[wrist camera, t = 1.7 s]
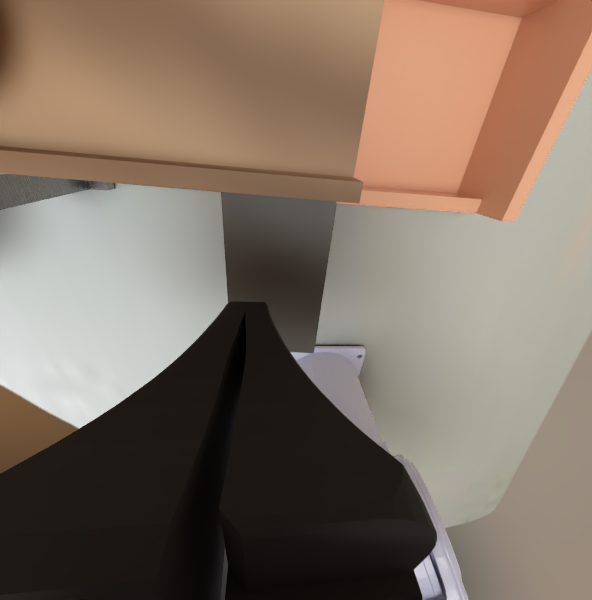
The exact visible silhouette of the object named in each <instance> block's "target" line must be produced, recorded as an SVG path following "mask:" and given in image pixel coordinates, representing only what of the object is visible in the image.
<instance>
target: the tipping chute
mask: <svg viewBox="0 0 592 600" xmlns="http://www.w3.org/2000/svg"><path fill="white" fill-rule="evenodd" d="M383 6H384V0H0V173H4V174H16V175H28V176H39V177H51V178H63V179H75V180H87V181H99V182H110V183H122V184H134V185H146V186H158V187H169V188H181V189H193V190H205V191H217V192H221V196H222V212H223V228H224V244H225V260H226V276H227V292H228V303H229V302H230V301H237V302H265V303H266V304H267V305H268V309H269V312H270V315H271V318H272V320H273V322H274V325H275V327H276V329H277V330H278V332H279V334H280V336H281V338H282V340H283V341H284V343H285V345H286V346H287V348H288V349H289V351H290V352H298V353H314V349H315V342H316V335H317V329H318V322H319V316H320V309H321V302H322V296H323V289H324V283H325V276H326V269H327V263H328V256H329V250H330V243H331V236H332V230H333V223H334V217H335V210H336V203H337V202H347V203H358V204H359V202H360V197H361V192H362V187H363V182H362V181H360V180H358V179H356V178H354V172H355V166H356V160H357V155H358V149H359V143H360V138H361V132H362V126H363V120H364V115H365V109H366V103H367V98H368V92H369V86H370V80H371V75H372V69H373V63H374V57H375V52H376V46H377V40H378V35H379V29H380V23H381V17H382V12H383Z"/></svg>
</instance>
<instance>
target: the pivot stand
mask: <svg viewBox="0 0 592 600" xmlns="http://www.w3.org/2000/svg"><path fill="white" fill-rule="evenodd" d="M88 189H97V190H111V189H115V186H114V183H110V182H99V181H87V180H75V179H63V178H51V177H39V176H28V175H16V174H4V173H0V210H1V209H5V208H10V207H14V206H18V205H23V204H27V203H31V202H36V201H40V200H44V199H49V198H53V197H57V196H62V195H66V194H71V193H75V192H79V191H84V190H88Z"/></svg>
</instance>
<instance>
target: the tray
mask: <svg viewBox="0 0 592 600" xmlns="http://www.w3.org/2000/svg"><path fill="white" fill-rule="evenodd" d="M591 69H592V0H384V6H383V12H382V17H381V23H380V29H379V35H378V40H377V46H376V52H375V57H374V63H373V69H372V75H371V80H370V86H369V92H368V98H367V103H366V109H365V115H364V120H363V126H362V132H361V138H360V143H359V149H358V155H357V160H356V166H355V172H354V178H356V179H358V180H360V181H362V182H363V187H362V192H361V197H360V202H359V204H358V203H347V202H337V203H336V204H351V205H365V206H380V207H394V208H409V209H423V210H437V211H452V212H466V213H477V214H481V215H484V216H487V217H490V218H493V219H496V220H499V221H506V222H515V221H516V219H517V217H518V215H519V213H520V211H521V209H522V207H523V205H524V203H525V201H526V199H527V197H528V195H529V193H530V191H531V189H532V187H533V185H534V183H535V181H536V179H537V177H538V175H539V173H540V171H541V169H542V167H543V165H544V163H545V161H546V159H547V157H548V155H549V153H550V151H551V149H552V147H553V145H554V143H555V141H556V139H557V137H558V135H559V133H560V131H561V129H562V127H563V125H564V123H565V121H566V119H567V117H568V115H569V113H570V111H571V109H572V107H573V105H574V103H575V101H576V99H577V97H578V95H579V93H580V91H581V89H582V87H583V85H584V83H585V81H586V79H587V77H588V75H589V73H590V71H591Z"/></svg>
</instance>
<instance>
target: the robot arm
mask: <svg viewBox="0 0 592 600" xmlns="http://www.w3.org/2000/svg"><path fill="white" fill-rule="evenodd" d="M365 354H366V350H365V348H364V347H362V346H315V349H314V353H298V352H290V351H289V349H288V348H287V346H286V345H285V343H284V341H283V340H282V338H281V336H280V334H279V332H278V330H277V329H276V327H275V325H274V322H273V320H272V318H271V315H270V312H269V309H268V305H267V304H266V303H265V302H237V301H230V302H229V303H228V304H227V305H226V306H225V308H224V309H223V310H222V312H221V313H220V314H219V315H218V317H217V318H216V319H215V320H214V321H213V323H212V324H211V325H210V326H209V327H208V328H207V329H206V330H205V332H204V333H203V334H202V335H201V336H200V337H199V338H198V339H197V340H196V341H195V342H194V343H193V344H192V345H191V346H190V347H189V348H188V349H187V350H186V351H185V352H184V353H183V354H182V355H181V356H180V357H178V358H177V359H176V360H175V361H174V362H173V363H172V364H171V365H169V366H168V367H167V368H166V369H165V370H163V371H162V372H161V373H160V374H159V375H157V376H156V377H155V378H154V379H152V380H151V381H150V382H148V383H147V384H146V385H144V386H143V387H141V388H140V389H139V390H137V391H136V392H134V393H133V394H132V395H130V396H129V397H127V398H126V399H125V400H123V401H122V402H121V403H119V404H118V405H116V406H115V407H113V408H112V409H110V410H108V411H107V412H105V413H104V414H102V415H101V416H99V417H98V418H96V419H95V420H93V421H91V422H90V423H88V424H86V425H85V426H83V427H82V428H80V429H78V430H77V431H75V432H73V433H72V434H70V435H68V436H67V437H65V438H64V439H62V440H60V441H58V442H57V443H55V444H53V445H51V446H50V447H48V448H46V449H44V450H43V451H41V452H39V453H37V454H35V455H33V456H32V457H30V458H28V459H27V460H24V461H23V462H21V463H19V464H17V465H15V466H14V467H12V468H10V469H8V470H7V471H5V472H3V473H1V474H0V600H221V586H222V573H223V561H224V549H226V555H227V560H228V573H227V584H226V595H225V600H469V599H468V596H467V594H466V591H465V588H464V586H463V583H462V580H461V572H460V568H459V565H458V562H457V559H456V556H455V553H454V551H453V548H452V545H451V543H450V540H449V538H448V536H447V533H446V530H445V528H444V525H443V523H442V521H441V518H440V516H439V514H438V511H437V509H436V507H435V505H434V502H433V500H432V498H431V496H430V494H429V491H428V489H427V487H426V485H425V483H424V481H423V479H422V477H421V475H420V473H419V472H418V470H417V468H416V467H415V465H414V464H413V463H412V462H410V461H409V460H407V459H405V458H404V457H403V456H402V455H397V456H392V455H391V454H390V453H389V451H388V448H387V446H386V443H385V442H384V441H382V439H381V436H380V434H379V431H378V429H377V426H376V423H375V421H374V418H373V416H372V413H371V410H370V408H369V405H368V402H367V400H366V397H365V395H364V392H363V389H362V387H361V384H360V382H359V379H358V378H359V375H360V371H361V368H362V364H363V361H364V357H365ZM358 355H360V356H358Z"/></svg>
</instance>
